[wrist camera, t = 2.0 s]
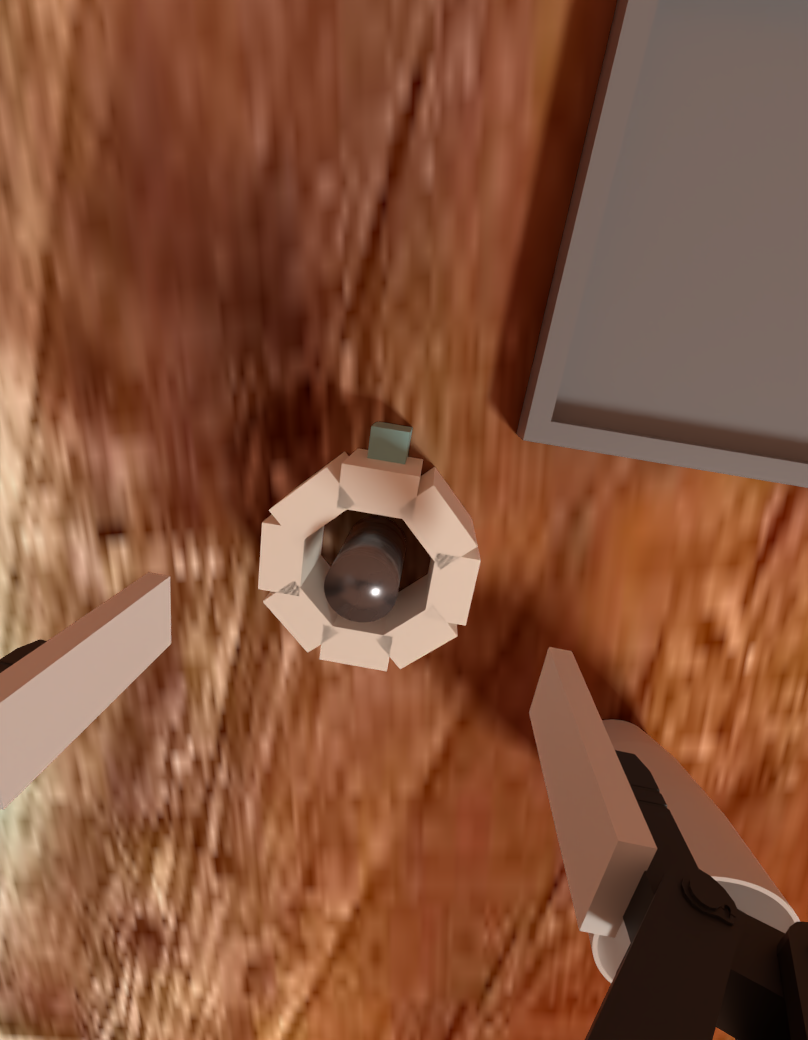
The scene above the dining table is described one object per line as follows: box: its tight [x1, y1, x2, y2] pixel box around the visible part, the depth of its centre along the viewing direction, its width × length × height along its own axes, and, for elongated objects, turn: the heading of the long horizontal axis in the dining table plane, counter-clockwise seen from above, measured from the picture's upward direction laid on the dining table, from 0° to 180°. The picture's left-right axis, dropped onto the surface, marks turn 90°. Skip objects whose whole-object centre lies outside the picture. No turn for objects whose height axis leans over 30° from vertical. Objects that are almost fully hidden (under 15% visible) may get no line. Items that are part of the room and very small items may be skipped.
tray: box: [516, 0, 808, 488], centre depth 19 cm, size 18×18×2 cm
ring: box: [258, 421, 481, 671], centre depth 23 cm, size 10×12×4 cm
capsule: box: [324, 516, 407, 623], centre depth 22 cm, size 3×3×6 cm
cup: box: [589, 719, 800, 983], centre depth 23 cm, size 8×8×10 cm
